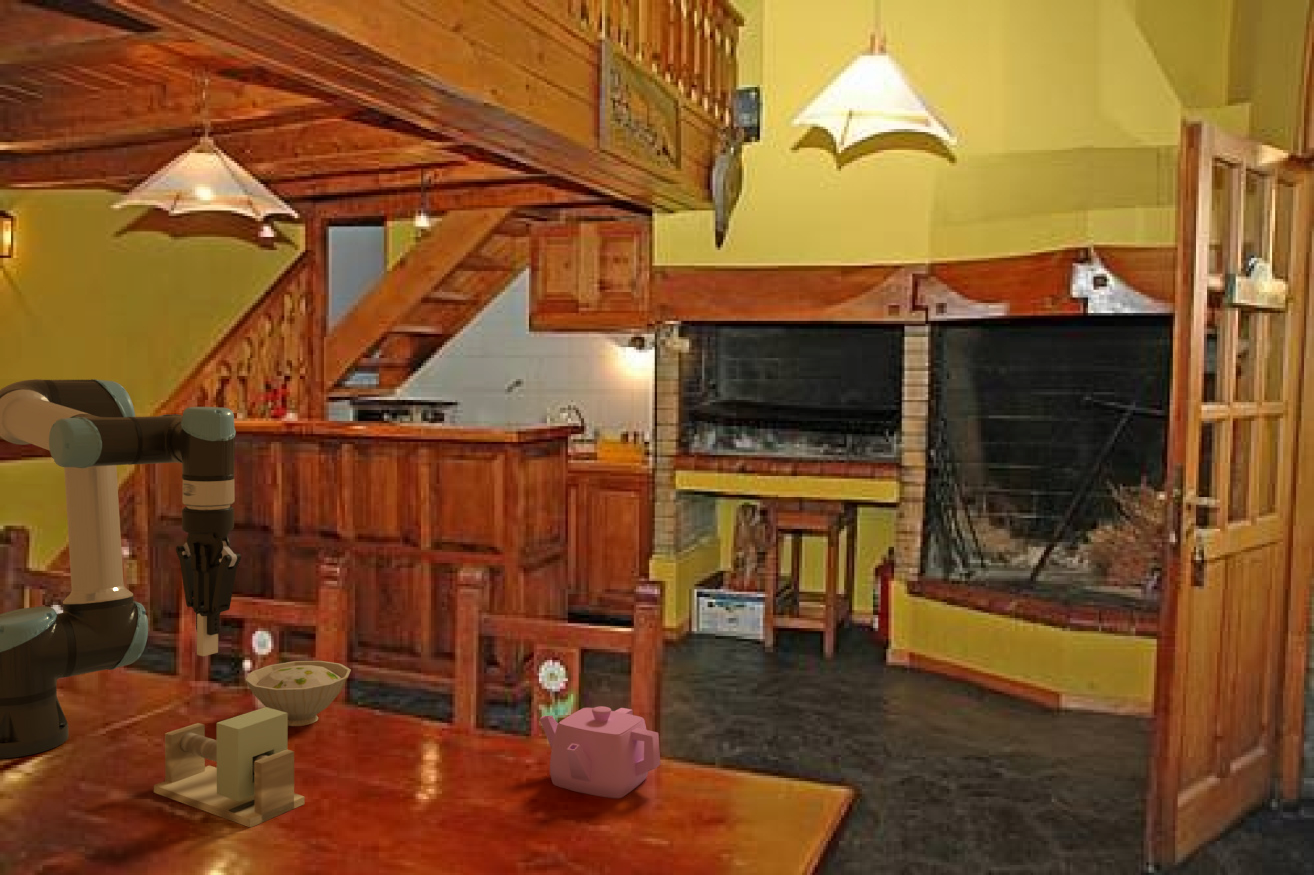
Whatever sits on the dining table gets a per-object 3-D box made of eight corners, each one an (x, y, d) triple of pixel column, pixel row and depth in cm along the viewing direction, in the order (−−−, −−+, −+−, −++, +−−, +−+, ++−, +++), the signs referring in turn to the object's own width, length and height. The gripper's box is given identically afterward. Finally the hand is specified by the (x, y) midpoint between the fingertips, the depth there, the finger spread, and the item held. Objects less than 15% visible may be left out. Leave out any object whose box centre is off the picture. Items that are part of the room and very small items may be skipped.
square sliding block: (216, 793, 158) (216, 722, 157) (266, 774, 166) (265, 707, 165) (238, 801, 156) (238, 729, 155) (287, 781, 163) (287, 712, 163)
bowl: (311, 697, 214) (311, 649, 213) (372, 717, 203) (372, 667, 202) (224, 722, 198) (224, 670, 198) (285, 745, 187) (285, 690, 187)
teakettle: (665, 794, 170) (667, 719, 169) (564, 807, 164) (566, 730, 163) (630, 757, 186) (631, 689, 185) (537, 768, 180) (538, 697, 179)
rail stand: (153, 792, 165) (153, 736, 165) (209, 772, 174) (208, 719, 173) (250, 827, 154) (250, 767, 153) (304, 804, 162) (304, 747, 162)
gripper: (160, 504, 163) (160, 651, 165) (214, 513, 157) (213, 666, 159) (202, 499, 170) (202, 641, 172) (256, 507, 163) (254, 655, 165)
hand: (207, 653), depth 165 cm, fingers closed
